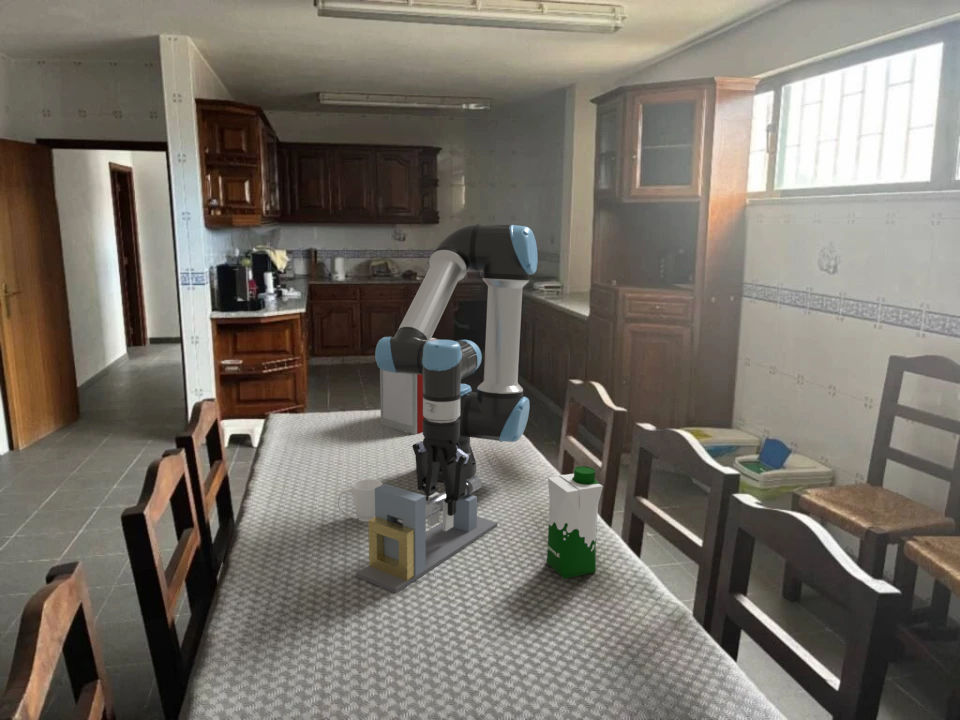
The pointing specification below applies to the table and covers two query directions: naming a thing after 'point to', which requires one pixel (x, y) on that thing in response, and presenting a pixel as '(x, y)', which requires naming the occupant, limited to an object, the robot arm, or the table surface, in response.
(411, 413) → the red grey striped box
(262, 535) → the table surface
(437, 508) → the shaft
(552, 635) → the table surface
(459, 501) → the rig
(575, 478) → the milk carton
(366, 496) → the cup
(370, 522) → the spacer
